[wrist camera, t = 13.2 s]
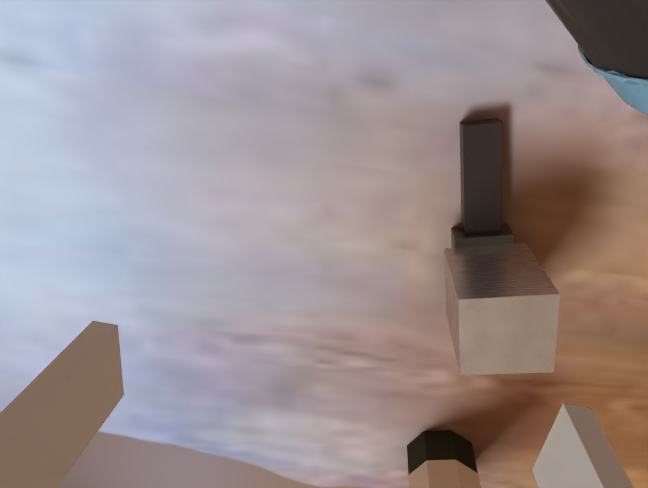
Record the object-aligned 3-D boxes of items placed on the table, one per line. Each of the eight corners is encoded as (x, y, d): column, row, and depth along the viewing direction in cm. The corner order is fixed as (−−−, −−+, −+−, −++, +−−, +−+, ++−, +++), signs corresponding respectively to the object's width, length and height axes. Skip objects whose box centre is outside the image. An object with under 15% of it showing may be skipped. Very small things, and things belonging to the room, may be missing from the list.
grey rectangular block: (444, 248, 43) (458, 299, 35) (525, 242, 42) (560, 294, 34) (446, 313, 46) (459, 375, 38) (523, 310, 45) (553, 372, 36)
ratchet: (447, 124, 41) (458, 140, 35) (509, 116, 40) (531, 131, 34) (453, 307, 48) (463, 345, 42) (505, 304, 47) (522, 343, 41)
